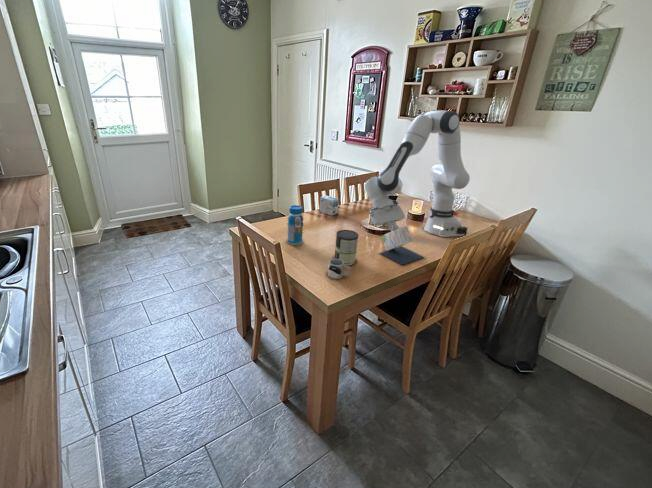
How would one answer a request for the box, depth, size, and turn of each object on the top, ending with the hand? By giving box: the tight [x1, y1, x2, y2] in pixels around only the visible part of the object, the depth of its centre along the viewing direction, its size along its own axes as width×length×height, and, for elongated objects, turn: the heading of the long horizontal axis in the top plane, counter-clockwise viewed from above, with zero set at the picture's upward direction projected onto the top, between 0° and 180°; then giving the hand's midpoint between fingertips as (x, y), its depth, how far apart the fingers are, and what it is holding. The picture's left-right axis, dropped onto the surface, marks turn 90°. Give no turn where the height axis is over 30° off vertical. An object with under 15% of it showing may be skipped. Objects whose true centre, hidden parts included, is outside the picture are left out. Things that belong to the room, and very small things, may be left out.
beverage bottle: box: [286, 204, 304, 246], centre depth 174 cm, size 8×8×20 cm
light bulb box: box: [319, 195, 340, 217], centre depth 220 cm, size 11×7×11 cm, turn 47°
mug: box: [327, 258, 352, 280], centre depth 145 cm, size 10×7×7 cm, turn 69°
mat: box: [379, 246, 424, 266], centre depth 165 cm, size 14×16×1 cm
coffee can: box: [333, 229, 359, 266], centre depth 157 cm, size 10×10×14 cm
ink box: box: [380, 225, 413, 252], centre depth 166 cm, size 9×5×15 cm
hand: (394, 230), depth 166 cm, fingers closed, pressing on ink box
